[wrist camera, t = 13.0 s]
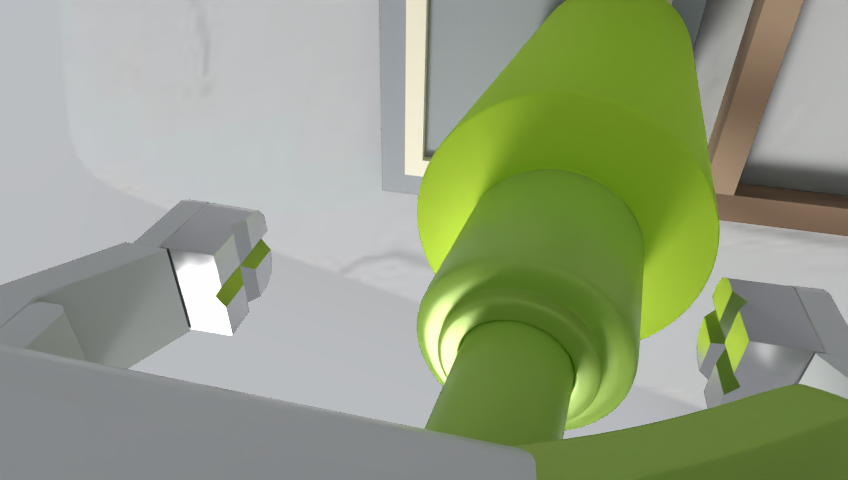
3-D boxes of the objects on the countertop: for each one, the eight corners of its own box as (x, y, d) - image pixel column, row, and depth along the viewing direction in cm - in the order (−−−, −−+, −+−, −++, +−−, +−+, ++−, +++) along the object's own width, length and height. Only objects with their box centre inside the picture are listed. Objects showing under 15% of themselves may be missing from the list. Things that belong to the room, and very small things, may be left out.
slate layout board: (384, -136, 21) (373, -136, 20) (734, -125, 19) (743, -125, 18) (387, 180, 28) (379, 194, 27) (643, 213, 26) (646, 229, 25)
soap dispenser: (748, 89, 21) (1021, 789, 5) (569, 162, 24) (386, 701, 8) (686, -70, 19) (794, 200, 3) (504, 34, 23) (118, 407, 7)
